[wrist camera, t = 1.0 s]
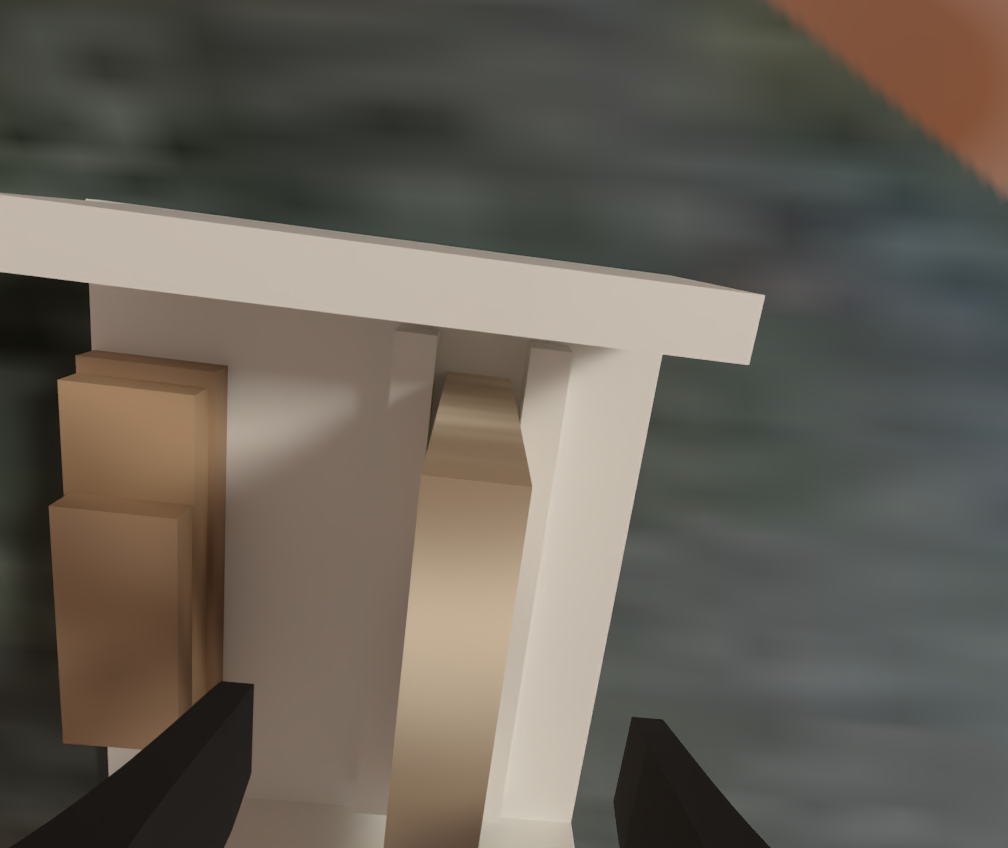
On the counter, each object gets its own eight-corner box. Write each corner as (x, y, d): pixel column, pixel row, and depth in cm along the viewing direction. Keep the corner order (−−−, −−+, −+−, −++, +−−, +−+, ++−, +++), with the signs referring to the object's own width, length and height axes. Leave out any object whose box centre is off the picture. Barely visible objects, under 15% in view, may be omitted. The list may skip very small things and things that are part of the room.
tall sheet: (458, 765, 20) (445, 1067, 13) (405, 761, 20) (361, 1062, 13) (510, 378, 17) (532, 486, 9) (447, 371, 17) (420, 474, 9)
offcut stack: (222, 733, 19) (186, 801, 17) (109, 724, 19) (57, 791, 17) (228, 365, 16) (186, 386, 14) (94, 350, 16) (30, 368, 14)
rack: (562, 830, 22) (590, 1046, 16) (124, 797, 21) (-14, 1013, 15) (668, 275, 17) (765, 295, 11) (104, 200, 16) (-108, 180, 10)
